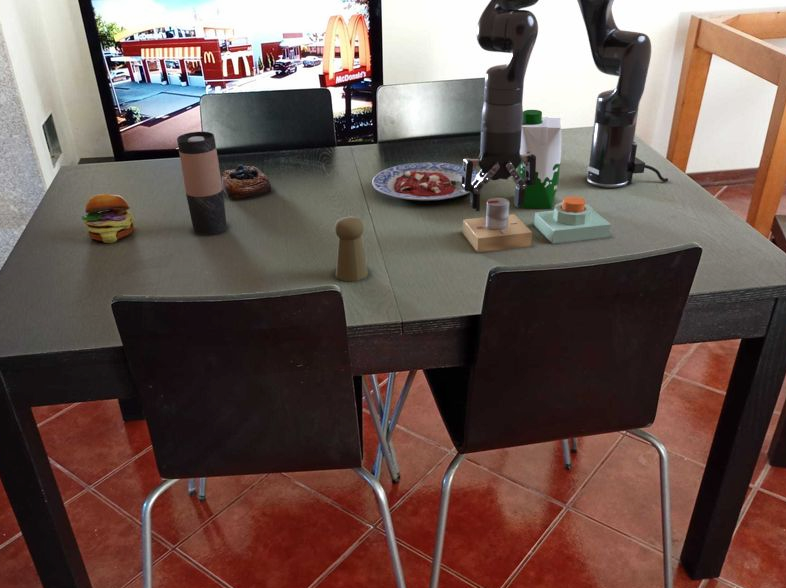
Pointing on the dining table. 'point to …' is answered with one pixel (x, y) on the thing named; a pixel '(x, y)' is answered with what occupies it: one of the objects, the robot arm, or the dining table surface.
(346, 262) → the wooden pawn
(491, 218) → the dial
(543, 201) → the milk carton
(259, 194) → the pastry
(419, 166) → the ceramic plate
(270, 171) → the dining table surface
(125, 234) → the cheeseburger
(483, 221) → the panel
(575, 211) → the orange button cap
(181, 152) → the travel mug
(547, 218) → the button base
